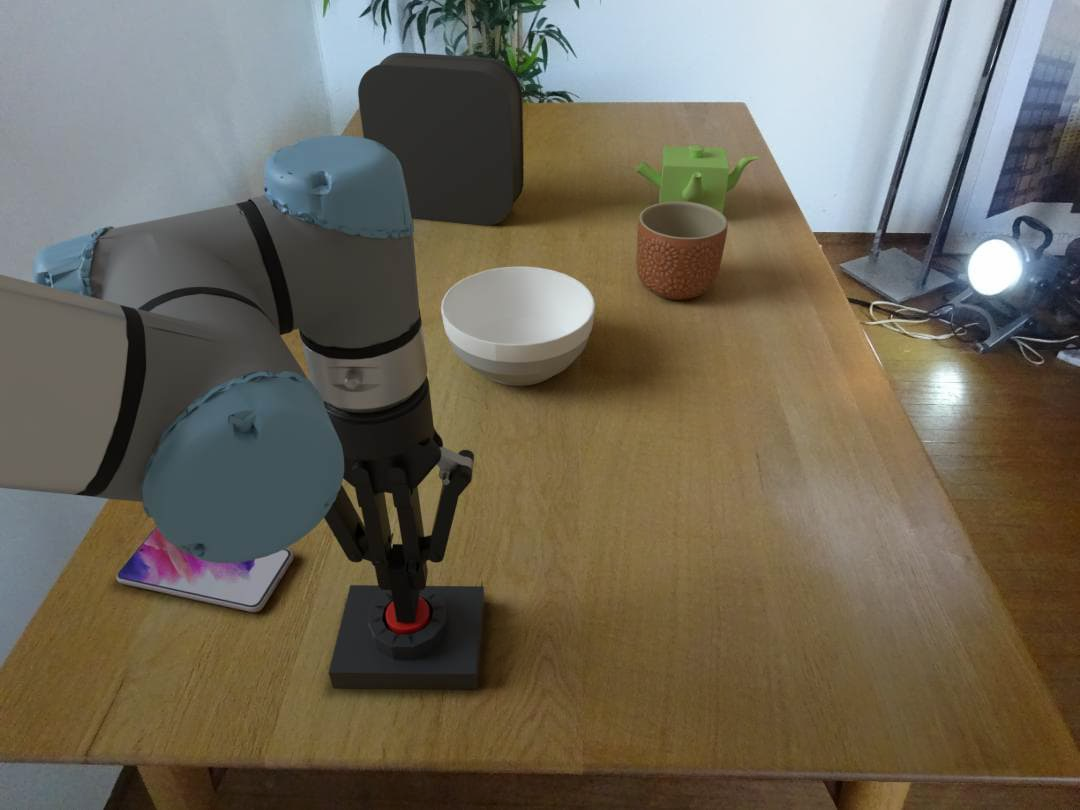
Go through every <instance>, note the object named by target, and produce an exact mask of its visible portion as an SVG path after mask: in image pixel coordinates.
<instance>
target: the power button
mask: <svg viewBox="0 0 1080 810" xmlns="http://www.w3.org/2000/svg"><path fill="white" fill-rule="evenodd" d="M386 620H387V625H388V630H390V631H392V632H394V633H395V634H397V635H411V634H414V633H416V632H418V631H420V630H423V629H424V628H425V627H426V626H427V625H428V624H429V622H430V621H431V620H430V613H429V607H428V604H427V602H426V601H425V600H424V599H423V598H421V597H419V601H418V607H417V613H416V620H415V623H397V620H396V614H395V609H394V603H393V601H392V602H391V603H390V605H389V606H388V608H387V610H386Z"/></svg>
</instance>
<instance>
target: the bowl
mask: <svg viewBox="0 0 1080 810" xmlns="http://www.w3.org/2000/svg"><path fill="white" fill-rule="evenodd" d="M595 312H596V302H595V298H594V296H593V295H592V292H591V290H590V289H589V288H588V287H587V286H586V285H584V283H582V282H581V281H579V280H578V279H576V278H574V277H572V276H570V275H568V274H566V273H563V272H560V271H556V270H553V269H548V268H543V267H537V266H504V267H496V268H491V269H486V270H482V271H479V272H477V273H474V274H471V275H469V276H467V277H465V278H462V279H461V280H459V281H458V282H456V283H455V284H453V285H452V286H451V287H450V288H449V289H448V291H447V292H446V293H445V294H444V297H443V298H442V300H441V305H440V313H441V317H442V323H443V327H444V332H445V334H446V336H447V339H448V341H449V344H450V346H451V348H452V350H453V351H454V353H455V355H456V356H457V357H458V358H459V359H460V360H461V361H462V362H463V363H464V364H465V365H466V366H467V367H469V368H470V369H471V370H472V371H474V372H475V373H476V374H479V375H480V376H483V377H484V378H487V379H489V380H490V381H493V382H495V383H497V384H501V385H505V386H514V387H519V386H520V387H523V386H531V385H532V386H533V385H535V384H539V383H542V382H544V381H547V380H549V379H551V378H552V377H553V376H556V375H558V374H560V373H561V372H563V371H564V370H567V368H568V367H569V366H570V365H572V363H574V361H575V360H576V359H577V358H578V357H579V356H580V355H581V354H582V353H583V351H584V349H585V347H586V346H587V344H588V341H589V339H590V335H591V332H592V330H593V327H594V326H593V324H594V321H595Z"/></svg>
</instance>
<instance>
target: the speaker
mask: <svg viewBox="0 0 1080 810" xmlns="http://www.w3.org/2000/svg"><path fill="white" fill-rule="evenodd" d="M357 97H358V98H357V99H358V103H359V104H358V106H359V114H360V121H361V129H362V136H363V137H362V138H366V139H370V140H373V141H376V142H378V143H380V144H382V145H384V146H385V147H386V148H387V149H388V150H389V151H391V152H392V153H394V154H395V156H396V157H397V159H398V160H399V162H400V164H401V167H402V171H403V176H404V181H405V185H406V188H407V194H408V200H409V206H410V212H411V218H412V219H417V220H428V221H437V222H447V223H457V224H466V225H476V226H492V225H496V224H499V223H500V222H502V221H504V219H505V218H507V216H508V215H509V214H510V212H511V211H512V209H513V206H514V204H515V203H516V202H517V200H518V199H519V197H520V196H521V194H522V192H523V189H524V182H525V178H524V177H525V176H524V175H525V172H524V171H525V170H524V169H525V168H524V161H525V160H524V106H523V102H524V101H523V88H522V84H521V82H520V80H519V77H518V76H517V74H516V73H515V71H514V70H513V69H512V68H511V66H509V65H508V64H506V63H505V62H503V61H501V60H500V59H497V58H492V57H484V56H483V57H480V56H469V55H468V56H467V55H454V54H450V55H449V54H437V53H436V54H435V53H420V52H419V53H418V52H394V53H390V54H389V55H387V56H386V57H385V58H384V59H382V60H381V61H380V63H379V64H376V65H374V66H372V67H370V68H369V69H368V70H366V72H365V73H364V74H363V76H362V77H361V78H360V81H359V83H358V88H357Z"/></svg>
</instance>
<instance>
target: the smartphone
mask: <svg viewBox="0 0 1080 810" xmlns="http://www.w3.org/2000/svg"><path fill="white" fill-rule="evenodd" d="M293 560H294V553H293V551H292V550H290V549H288V548H285V549H283V550H281V551H279V552H277V553H274V554H272V555H269V556H266V557H262V558H258V559H254V560H250V561H246V562H238V563H215V562H207V561H204V560H200V559H196V558H195V557H194V556H193V555H191V554H188V553H186V552H184V551H182V550H180V549H178V548H177V547H176V546H174V545H172V544H171V543H169V542H168V541H167V540H166V539H165V538H164V537H163V536H162V534H161V533H160V531H159V530H158V528H157V526H156V525H155V527H153V529H152V530H151V531H150V533H149V534H148V535H147V536H146V537H145V538H144V540H143V541H142V542H141V544H140V545H139V546H138V547H137V549H136V550H135V551H134V552H133V553H132V554H131V555H130V557H129V558H128V559H127V561H125V563H124V564H123V565H122V566H121V568H119V570H118V571H117V573H116V577H115V579H116V580H117V581H116V582H118V583H119V584H122V585H126V586H129V587H130V586H131V587H135V588H139V589H145V590H147V591H148V590H149V591H154V592H158V593H162V594H166V595H172V596H176V597H181V598H185V599H190V600H195V601H199V602H203V603H208V604H212V605H218V606H221V607H222V606H223V607H227V608H231V609H235V610H240V611H243V612H244V611H245V612H249V613H258V612H260V611H262V609H264V607H265V606H266V604H267V603H268V601H269V599H270V598H271V596H272V595H273V592H274V591H275V590H276V588H277V586H278V584H279V583H280V581H281V580H282V578H283V577H284V575H285V574H286V571H287V570H288V569H289V567H290V565H291V564H292V562H293Z"/></svg>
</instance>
